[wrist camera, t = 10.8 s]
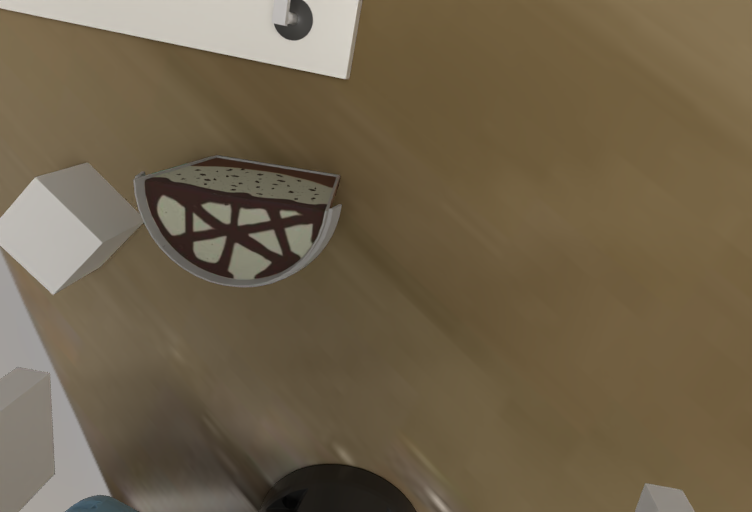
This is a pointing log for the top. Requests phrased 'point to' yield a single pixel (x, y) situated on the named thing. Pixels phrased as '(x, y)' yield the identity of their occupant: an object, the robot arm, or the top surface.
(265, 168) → the food container
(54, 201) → the white cube
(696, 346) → the top surface
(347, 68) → the board
